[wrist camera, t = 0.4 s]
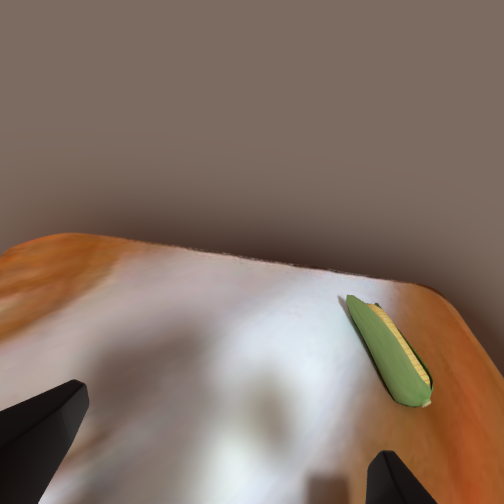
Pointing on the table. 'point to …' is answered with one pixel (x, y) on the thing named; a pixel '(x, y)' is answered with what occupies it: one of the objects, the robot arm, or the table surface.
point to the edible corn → (392, 355)
